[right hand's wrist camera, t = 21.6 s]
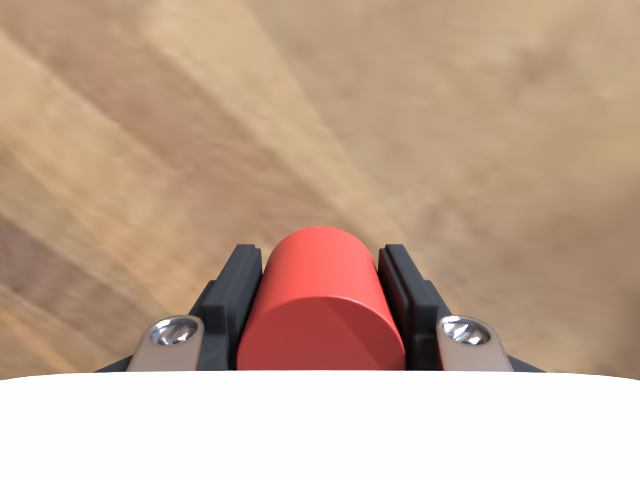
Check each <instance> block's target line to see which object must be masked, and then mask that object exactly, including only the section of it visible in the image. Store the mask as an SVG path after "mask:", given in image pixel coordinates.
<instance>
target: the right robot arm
mask: <svg viewBox="0 0 640 480" xmlns="http://www.w3.org/2000/svg"><path fill="white" fill-rule="evenodd" d="M378 275H379V278H380V281H381V284H382V286H383V289H384V292H385V295H386V298H387V301H388V303H389V306H390V309H391V312H392V315H393V318H394V320H395V323H396V326H397V329H398V332H399V335H400V338H401V340H402V343H403V347H404V351H405V358H406V367H405V371H237V368H236V356H237V351H238V346H239V343H240V340H241V338H242V335H243V332H244V329H245V326H246V323H247V320H248V317H249V314H250V311H251V308H252V305H253V302H254V299H255V296H256V293H257V290H258V288H259V285H260V282H261V279H262V276H263V274H262V259H261V250H260V248H255V245H254V244H238V245H237V246H236V248H235V249H234V251H233V253H232V254H231V256H230V258H229V259H228V261H227V263H226V264H225V266H224V268H223V269H222V271H221V273H220V274H219V276H218V278H217V279H216V280H210V281H209V282H208V284H207V286H206V287H205V289H204V290H203V292H202V293H201V295H200V297H199V298H198V300H197V301H196V303H195V304H194V306H193V308H192V309H191V311H190V312H189V314H188V315H177V316H171V317H168V318H165V319H162V320H160V321H158V322H156V323H154V324H152V325H151V326H150V327H149V328H147V330H146V331H145V332H144V334H143V336H142V338H141V340H140V342H139V344H138V346H137V348H136V351H135V353H134V355H131V356H129V357H127V358H125V359H122V360H120V361H118V362H115V363H113V364H111V365H109V366H106V367H104V368H102V369H100V370H97V371H95V372H93V373H85V374H59V375H46V376H32V377H24V378H17V379H9V380H3V381H0V480H640V381H637V380H631V379H624V378H616V377H608V376H595V375H580V374H557V373H547V372H545V371H543V370H541V369H538V368H536V367H534V366H531V365H529V364H527V363H525V362H522V361H520V360H518V359H516V358H513V357H511V356H509V355H507V354H506V353H505V351H504V348H503V346H502V344H501V342H500V340H499V338H498V336H497V334H496V332H495V331H494V330H493V328H491V327H490V326H489V325H488V324H486V323H484V322H482V321H480V320H478V319H475V318H472V317H469V316H463V315H452V314H451V312H450V310H449V309H448V307H447V306H446V304H445V303H444V301H443V299H442V298H441V296H440V295H439V293H438V292H437V290H436V288H435V287H434V285H433V284H432V282H431V281H430V280H424V279H423V277H422V276H421V274H420V272H419V271H418V269H417V267H416V266H415V264H414V263H413V261H412V259H411V258H410V256H409V254H408V253H407V251H406V249H405V248H404V246H403V245H402V244H386V246H385V248H380V250H379V261H378Z"/></svg>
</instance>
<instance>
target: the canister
mask: <svg viewBox="0 0 640 480" xmlns="http://www.w3.org/2000/svg"><path fill="white" fill-rule="evenodd" d="M405 367H406V358H405V351H404V347H403V343H402V340H401V338H400V335H399V332H398V329H397V326H396V323H395V320H394V318H393V315H392V312H391V309H390V306H389V303H388V301H387V298H386V295H385V292H384V289H383V286H382V284H381V281H380V278H379V275H378V272H377V269H376V267H375V264H374V261H373V259H372V256H371V255H370V253H369V251H368V250H367V248H366V247H365V246H364V245H363V244H362V243H361V242H360V241H359V240H358V239H356V238H355V237H354V236H352V235H350V234H349V233H347V232H344V231H342V230H339V229H335V228H330V227H311V228H306V229H302V230H299V231H297V232H294V233H293V234H291V235H289V236H287V237H286V238H285V239H283V240H282V241H281V242H280V243H279V244H278V245H277V246H276V247H275V249H274V250H273V251H272V253H271V255H270V257H269V259H268V261H267V264H266V267H265V270H264V273H263V276H262V279H261V282H260V285H259V288H258V290H257V293H256V296H255V299H254V302H253V305H252V308H251V311H250V314H249V317H248V320H247V323H246V326H245V329H244V332H243V335H242V338H241V340H240V343H239V346H238V351H237V356H236V368H237V371H405Z"/></svg>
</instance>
